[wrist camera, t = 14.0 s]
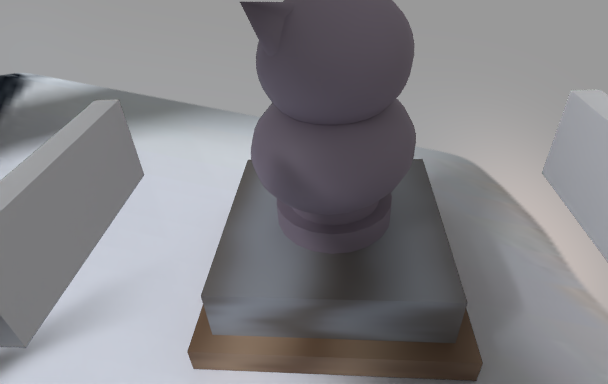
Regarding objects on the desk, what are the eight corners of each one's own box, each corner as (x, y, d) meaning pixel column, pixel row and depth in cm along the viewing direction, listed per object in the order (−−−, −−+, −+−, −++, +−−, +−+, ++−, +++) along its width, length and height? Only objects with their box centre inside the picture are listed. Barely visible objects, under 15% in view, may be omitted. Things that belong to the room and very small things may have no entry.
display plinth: (193, 368, 21) (172, 313, 18) (245, 201, 32) (236, 152, 29) (476, 380, 20) (498, 323, 17) (426, 203, 31) (434, 151, 28)
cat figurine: (344, 297, 18) (348, 16, 11) (231, 226, 23) (183, -9, 16) (433, 205, 23) (474, -30, 16) (326, 161, 28) (323, -39, 21)
